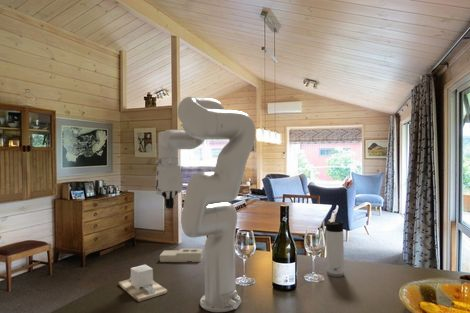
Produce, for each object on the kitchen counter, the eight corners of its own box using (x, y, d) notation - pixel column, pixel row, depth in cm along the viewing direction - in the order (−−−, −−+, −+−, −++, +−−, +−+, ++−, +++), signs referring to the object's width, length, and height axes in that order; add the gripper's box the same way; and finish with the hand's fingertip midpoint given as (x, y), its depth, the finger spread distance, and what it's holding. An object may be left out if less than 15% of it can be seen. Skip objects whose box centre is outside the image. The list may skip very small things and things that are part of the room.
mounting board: (167, 292, 110) (167, 289, 110) (138, 301, 104) (138, 298, 104) (144, 277, 124) (144, 274, 124) (118, 284, 118) (118, 282, 118)
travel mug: (339, 278, 119) (338, 224, 119) (323, 273, 124) (322, 221, 124) (347, 274, 123) (347, 221, 123) (332, 269, 128) (331, 219, 128)
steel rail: (155, 292, 108) (155, 289, 108) (148, 294, 107) (148, 291, 107) (136, 278, 121) (136, 275, 121) (129, 280, 119) (129, 277, 119)
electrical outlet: (164, 248, 149) (203, 248, 148) (164, 257, 149) (203, 257, 148) (159, 253, 142) (200, 253, 141) (159, 262, 142) (200, 262, 141)
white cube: (153, 285, 113) (152, 268, 113) (138, 290, 110) (137, 272, 110) (145, 280, 118) (145, 264, 118) (130, 284, 115) (130, 267, 115)
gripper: (155, 163, 123) (156, 211, 123) (189, 161, 132) (190, 207, 132) (146, 163, 129) (147, 209, 129) (180, 161, 138) (181, 204, 138)
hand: (169, 208), depth 131 cm, fingers closed
